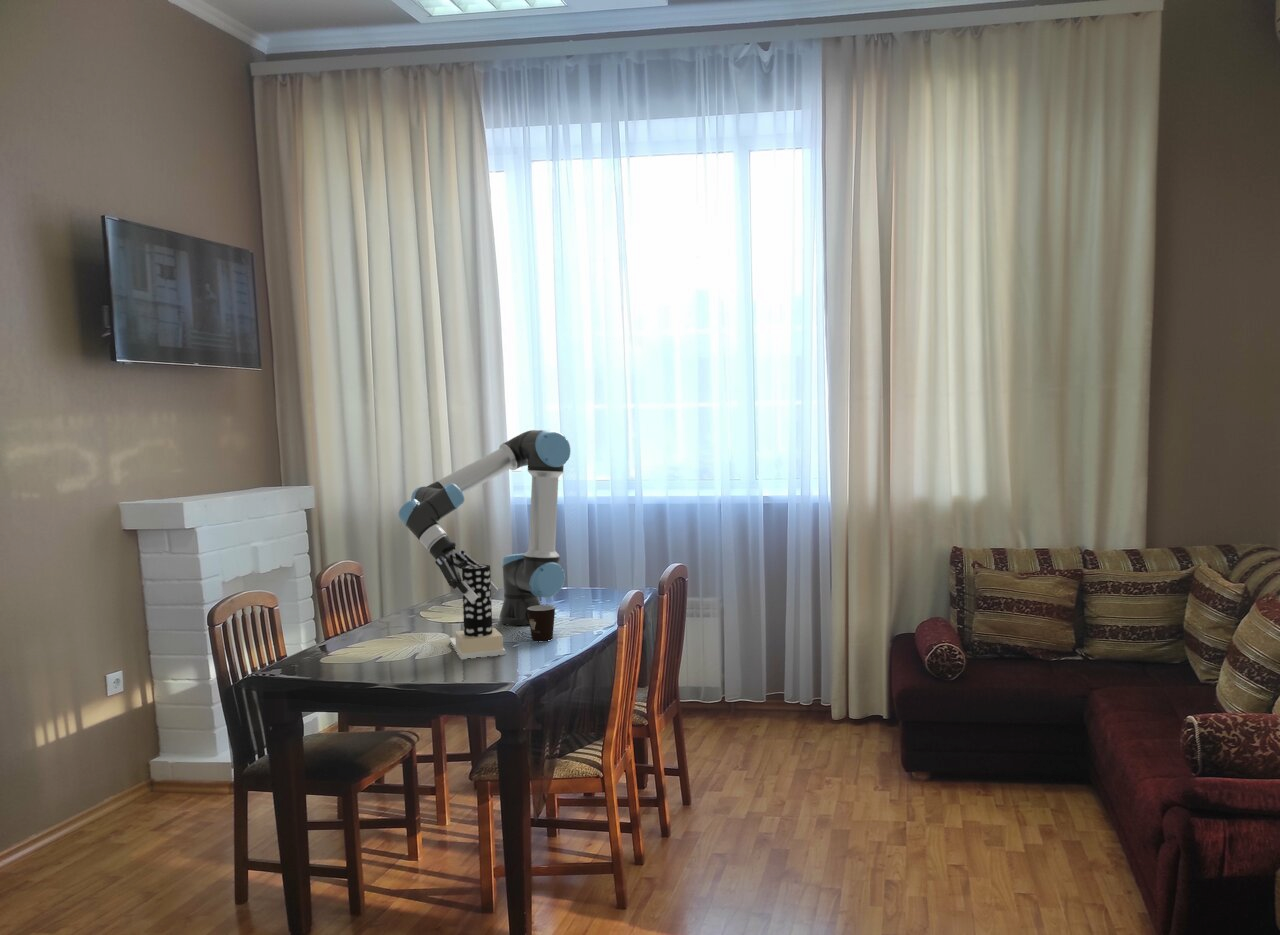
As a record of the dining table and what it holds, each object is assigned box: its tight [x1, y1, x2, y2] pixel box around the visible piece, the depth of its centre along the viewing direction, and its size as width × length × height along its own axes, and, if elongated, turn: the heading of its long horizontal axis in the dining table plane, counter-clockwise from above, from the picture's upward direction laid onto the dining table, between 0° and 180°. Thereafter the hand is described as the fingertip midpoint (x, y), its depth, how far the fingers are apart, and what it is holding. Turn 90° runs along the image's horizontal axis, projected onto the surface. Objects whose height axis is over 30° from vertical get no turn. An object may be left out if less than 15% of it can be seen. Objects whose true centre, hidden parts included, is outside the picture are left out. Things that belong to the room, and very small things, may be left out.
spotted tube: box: [461, 564, 493, 637], centre depth 299 cm, size 8×8×20 cm
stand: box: [449, 627, 506, 660], centre depth 304 cm, size 13×22×6 cm, turn 19°
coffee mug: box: [526, 604, 556, 643], centre depth 315 cm, size 12×9×10 cm
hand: (485, 596), depth 298 cm, fingers open, 11 cm apart
